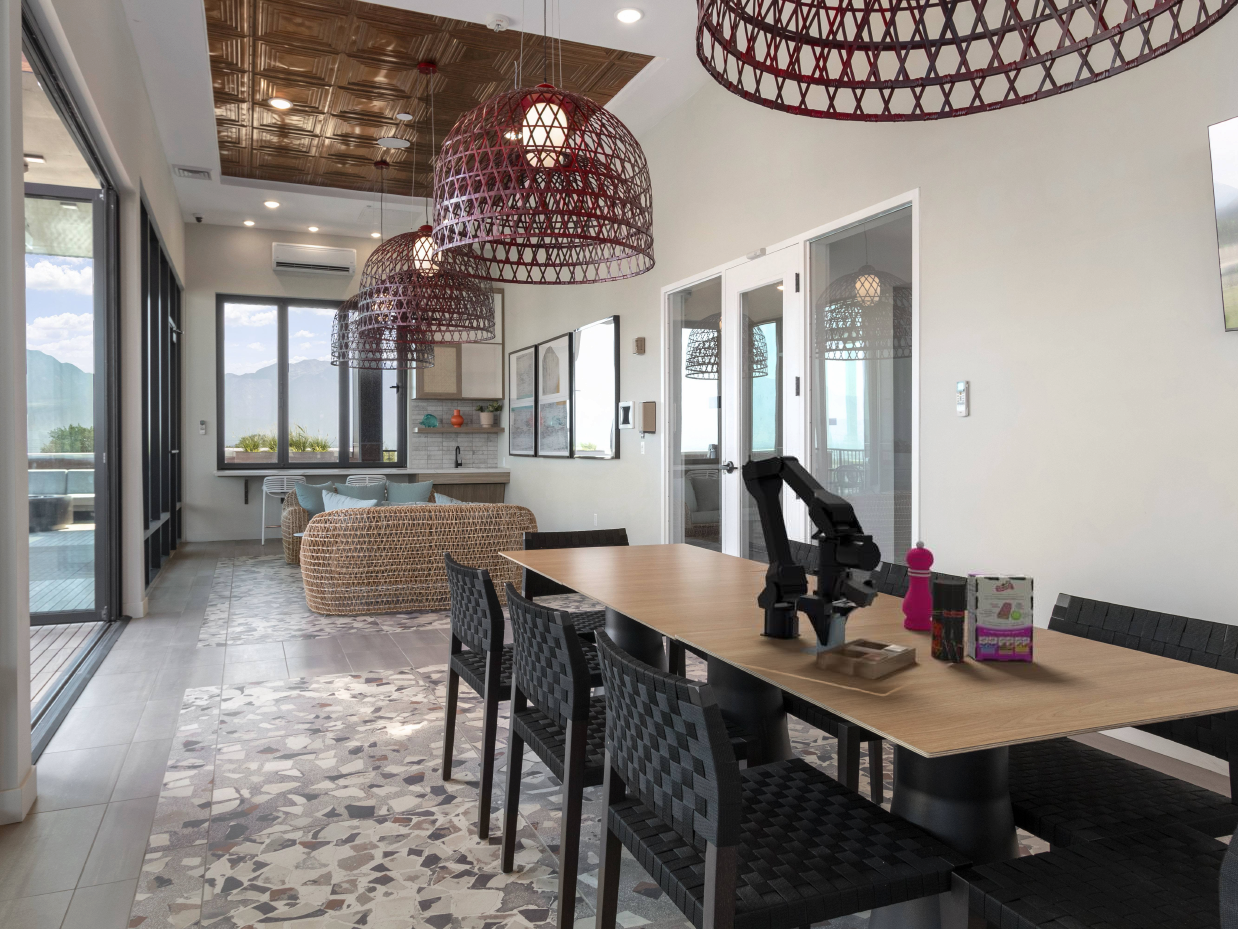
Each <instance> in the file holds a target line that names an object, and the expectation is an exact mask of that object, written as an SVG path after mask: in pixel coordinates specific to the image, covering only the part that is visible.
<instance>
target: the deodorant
mask: <svg viewBox="0 0 1238 929" xmlns="http://www.w3.org/2000/svg"><path fill="white" fill-rule="evenodd" d="M931 596H932V617H931V620H932V630H931V634H930V635H931V636H930V637H931V640H930V641H931V644H930V657H932V658H933V659H936V660H942V661H949V663H951V664H958V663H959V664H960V663H963V662H964V661H965V660H964V659H965V623H966V622H965V621H966V582H964V581H961V580H954V579H933V580H932V594H931Z"/></svg>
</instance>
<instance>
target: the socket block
mask: <svg viewBox="0 0 1238 929" xmlns="http://www.w3.org/2000/svg"><path fill="white" fill-rule="evenodd" d="M916 650H917V648H916V647H914V646H907V645H903V644H898V643H891V642H886V641H880V640H875V639H869V638H857V639H855V640H852V641H849V642H845V644H842V645H839V646H836V647H834V648H831V649H828V650H825V651H822V652H819V653H817V655H815V656H816V657H815V658H816V661H815V662H816V664H815V665H816V666H815V668H817V669H821V670H826V671H829V672H834V673H835V672H836V673H840V674H845V675H850V676H855V677H860V678H864V679H869V680H875V679H878V678H880V677H882V676H884V675H888V674H890V673H892V672H894V671H896V670H899V669H902V668H904V667H906V666H908V665H910V664H913V663H915V662H916V658H917V655H916V654H917V652H916Z"/></svg>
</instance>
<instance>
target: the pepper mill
mask: <svg viewBox="0 0 1238 929" xmlns="http://www.w3.org/2000/svg"><path fill="white" fill-rule="evenodd" d="M915 545H916V547H913V548H911V549H909V551H907V553H906V556H905V561H906V565H908V566H909V568H907V570H908V573H907V575H908V576H909V587H908V590H907V593H906V595H905V597H904V598H903V601H902V605H901V606H902V607H901V610H902V612H903V614H904V616H905V618H903V627H904V628H905V629H908V630H912V631H913V630H914V631H932V594H931V591H930V585H929V584H930V581H929V580H930V577H931V576H932V573H931V572H932V570H931V567H932V566H933V564H934V560H935V559H934V555H933V553H932V551H930V549H928V548H925V543H924V541H922V540H919V541H917V542H916V543H915Z"/></svg>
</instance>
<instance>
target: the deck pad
mask: <svg viewBox="0 0 1238 929" xmlns="http://www.w3.org/2000/svg"><path fill="white" fill-rule="evenodd" d="M816 649H817V645H815V646H812V647H809V648H805V649H802V650H800V651H798V652H799V653H803V654H807V655H813V656H817V653H819V652H816Z"/></svg>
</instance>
